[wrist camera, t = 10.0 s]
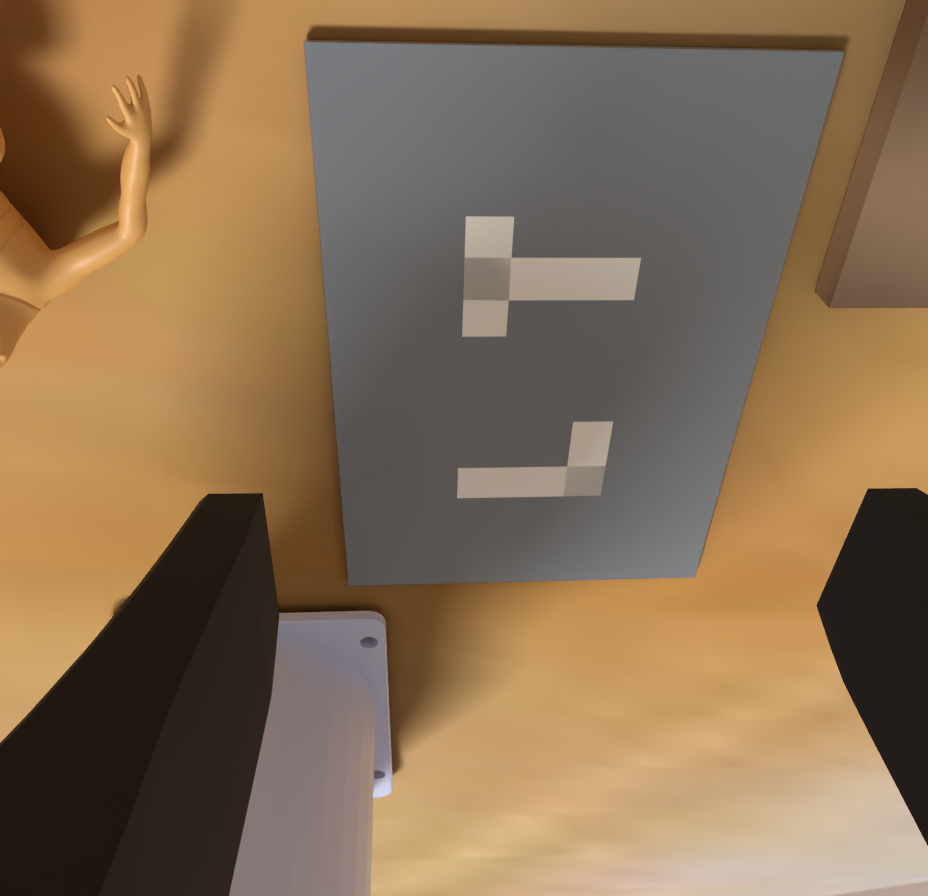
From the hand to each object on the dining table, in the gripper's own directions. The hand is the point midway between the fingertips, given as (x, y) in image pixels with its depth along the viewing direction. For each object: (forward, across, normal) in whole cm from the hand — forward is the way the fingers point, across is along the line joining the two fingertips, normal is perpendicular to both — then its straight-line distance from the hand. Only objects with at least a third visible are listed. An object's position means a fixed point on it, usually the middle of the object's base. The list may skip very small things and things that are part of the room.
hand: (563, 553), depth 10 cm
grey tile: (+9, -1, +3) cm, 10 cm away
